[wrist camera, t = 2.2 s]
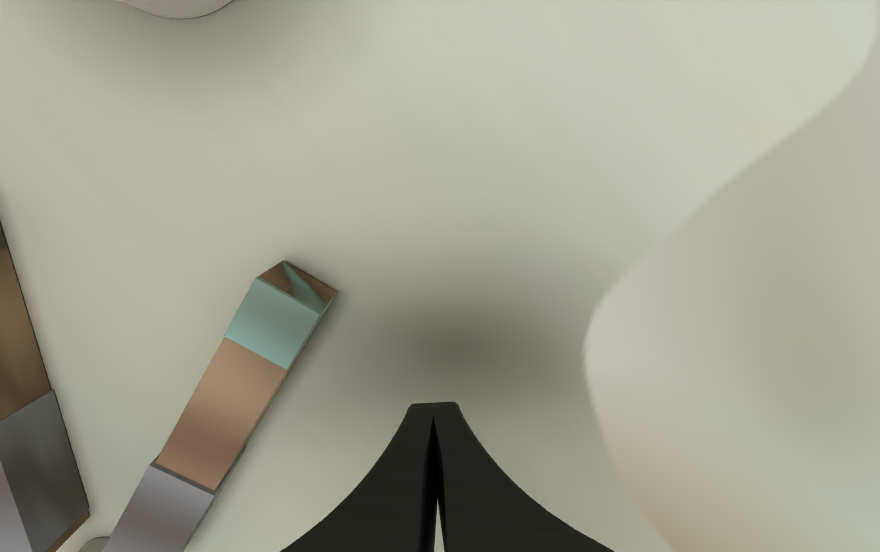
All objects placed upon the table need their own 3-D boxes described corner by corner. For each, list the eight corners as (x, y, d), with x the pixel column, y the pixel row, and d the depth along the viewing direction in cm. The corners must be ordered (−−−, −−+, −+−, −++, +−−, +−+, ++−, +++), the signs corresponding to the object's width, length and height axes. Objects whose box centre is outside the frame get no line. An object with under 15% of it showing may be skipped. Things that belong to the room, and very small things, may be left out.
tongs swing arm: (183, 551, 20) (145, 609, 17) (130, 528, 19) (84, 583, 17) (339, 293, 17) (322, 316, 14) (280, 259, 16) (252, 276, 14)
